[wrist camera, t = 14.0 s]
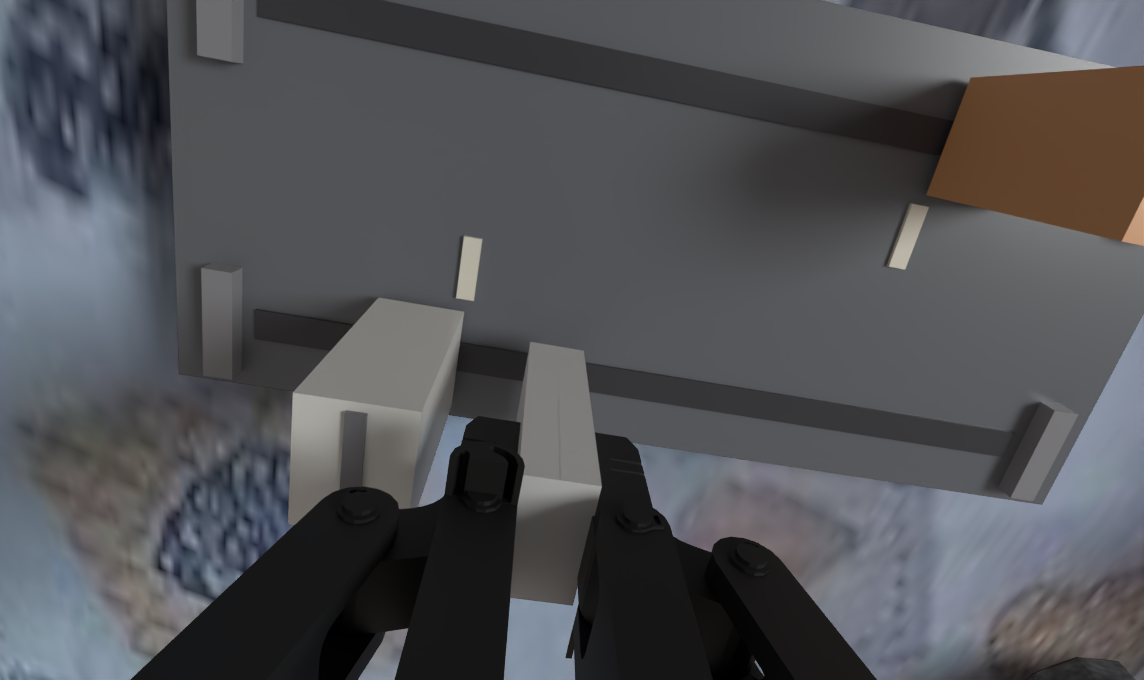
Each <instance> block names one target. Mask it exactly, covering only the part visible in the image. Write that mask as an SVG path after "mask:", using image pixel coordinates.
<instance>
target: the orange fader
mask: <svg viewBox="0 0 1144 680" xmlns="http://www.w3.org/2000/svg"><path fill="white" fill-rule="evenodd" d="M926 195H928V196H932V197H936V198H941V199H945V200H949V201H953V202H957V203H962V204H966V205H970V206H974V207H978V208H983V209H987V210H991V211H995V212H1000V213H1004V214H1008V215H1012V216H1016V217H1021V218H1025V219H1029V220H1033V221H1037V222H1042V223H1046V224H1050V225H1054V226H1059V227H1063V228H1067V229H1071V230H1075V231H1080V232H1084V233H1088V234H1092V235H1097V236H1101V237H1105V238H1109V239H1113V240H1118V241H1122V242H1127V243H1132V244H1137V245H1142V246H1144V66H1132V67H1118V68H1103V69H1089V70H1074V71H1059V72H1045V73H1030V74H1015V75H1001V76H986V77H971V78H970V80H969V83H968V86H967V88H966V91H965V94H964V96H963V99H962V102H961V104H960V107H959V110H958V112H957V115H956V118H955V120H954V123H953V125H952V128H951V131H950V133H949V136H948V139H947V141H946V144H945V147H944V149H943V152H942V155H941V157H940V160H939V162H938V165H937V168H936V170H935V173H934V176H933V178H932V181H931V184H930V186H929V189H928V192H927V194H926Z"/></svg>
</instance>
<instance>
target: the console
mask: <svg viewBox="0 0 1144 680" xmlns="http://www.w3.org/2000/svg"><path fill="white" fill-rule="evenodd" d="M167 28H168V58H169V88H170V118H171V149H172V179H173V209H174V239H175V269H176V300H177V330H178V360H179V374H181V375H188V376H195V377H201V378H208V379H214V380H221V381H228V382H234V383H241V384H248V385H254V386H261V387H267V388H274V389H281V390H287V391H295V390H296V389H297V388H298V386H299V385H300V384H301V383H302V382H303V381H304V380H305V379H306V378H307V376H308V375H309V374H310V373H311V372H312V371H313V370H314V369H315V368H316V366H317V365H318V364H319V363H320V362H321V361H322V360H323V359H324V358H325V356H326V355H327V354H328V353H329V352H330V351H331V350H332V349H333V348H334V347H335V345H336V344H337V343H338V342H339V341H340V340H341V339H342V338H343V337H344V335H345V334H346V333H347V332H348V331H349V330H350V329H351V328H352V327H353V325H354V324H355V323H356V322H357V321H358V320H359V319H360V318H361V317H362V315H363V314H364V313H365V312H366V311H367V310H368V309H369V308H370V307H371V306H372V304H373V303H374V302H375V301H376V300H377V299H378V298H385V299H391V300H397V301H403V302H409V303H415V304H421V305H427V306H433V307H439V308H445V309H451V310H457V311H463V312H464V317H463V324H462V332H461V339H460V347H459V354H458V362H457V369H456V376H455V384H454V391H453V399H452V406H451V409H450V412H449V415H452V416H459V417H466V418H472V419H475V418H476V417H477V416H482V417H489V418H495V419H501V420H508V421H514V422H516V419H517V413H518V407H519V402H520V396H521V391H522V385H523V380H524V374H525V369H526V363H527V357H528V352H529V346H530V342H535V343H541V344H547V345H553V346H559V347H565V348H571V349H577V350H583V351H584V356H585V364H586V371H587V379H588V386H589V394H590V401H591V409H592V416H593V424H594V431H595V432H596V433H602V434H609V435H615V436H621V437H627V438H628V439H629V440H630V441H631V443H638V444H644V445H651V446H657V447H664V448H671V449H677V450H684V451H691V452H697V453H704V454H710V455H717V456H724V457H730V458H737V459H743V460H750V461H757V462H763V463H770V464H777V465H783V466H790V467H796V468H803V469H810V470H816V471H823V472H829V473H836V474H843V475H849V476H856V477H862V478H869V479H876V480H882V481H889V482H896V483H902V484H909V485H915V486H922V487H929V488H935V489H942V490H948V491H955V492H962V493H968V494H975V495H981V496H988V497H995V498H1001V499H1008V500H1015V501H1021V502H1028V503H1034V504H1041V505H1042V504H1043V502H1044V500H1045V498H1046V496H1047V494H1048V493H1049V491H1050V489H1051V487H1052V485H1053V483H1054V481H1055V479H1056V478H1057V476H1058V474H1059V472H1060V470H1061V468H1062V466H1063V464H1064V462H1065V461H1066V459H1067V457H1068V455H1069V453H1070V451H1071V449H1072V447H1073V446H1074V444H1075V442H1076V440H1077V438H1078V436H1079V434H1080V432H1081V431H1082V429H1083V427H1084V425H1085V423H1086V421H1087V419H1088V417H1089V415H1090V414H1091V412H1092V410H1093V408H1094V406H1095V404H1096V402H1097V400H1098V399H1099V397H1100V395H1101V393H1102V391H1103V389H1104V387H1105V385H1106V383H1107V382H1108V380H1109V378H1110V376H1111V374H1112V372H1113V370H1114V368H1115V367H1116V365H1117V363H1118V361H1119V359H1120V357H1121V355H1122V353H1123V351H1124V350H1125V348H1126V346H1127V344H1128V342H1129V340H1130V338H1131V336H1132V335H1133V333H1134V331H1135V329H1136V327H1137V325H1138V323H1139V321H1140V319H1141V318H1142V316H1143V314H1144V246H1142V245H1137V244H1132V243H1127V242H1122V241H1118V240H1113V239H1109V238H1105V237H1101V236H1097V235H1092V234H1088V233H1084V232H1080V231H1075V230H1071V229H1067V228H1063V227H1059V226H1054V225H1050V224H1046V223H1042V222H1037V221H1033V220H1029V219H1025V218H1021V217H1016V216H1012V215H1008V214H1004V213H1000V212H995V211H991V210H987V209H983V208H978V207H974V206H970V205H966V204H962V203H957V202H953V201H949V200H945V199H941V198H936V197H932V196H928V195H926V194H927V192H928V189H929V186H930V184H931V181H932V178H933V176H934V173H935V170H936V168H937V165H938V162H939V160H940V157H941V155H942V152H943V149H944V147H945V144H946V141H947V139H948V136H949V133H950V131H951V128H952V125H953V123H954V120H955V118H956V115H957V112H958V110H959V107H960V104H961V102H962V99H963V96H964V94H965V91H966V88H967V86H968V83H969V80H970V78H971V77H986V76H1001V75H1015V74H1030V73H1045V72H1059V71H1074V70H1089V69H1103V68H1117V67H1113V66H1109V65H1104V64H1100V63H1095V62H1091V61H1086V60H1082V59H1078V58H1073V57H1069V56H1064V55H1060V54H1055V53H1051V52H1047V51H1042V50H1038V49H1033V48H1029V47H1025V46H1020V45H1016V44H1011V43H1007V42H1002V41H998V40H994V39H989V38H985V37H980V36H976V35H971V34H967V33H963V32H958V31H954V30H949V29H945V28H940V27H936V26H932V25H927V24H923V23H918V22H914V21H910V20H905V19H901V18H896V17H892V16H887V15H883V14H879V13H874V12H870V11H865V10H861V9H856V8H852V7H848V6H843V5H839V4H834V3H830V2H826V1H821V0H167Z"/></svg>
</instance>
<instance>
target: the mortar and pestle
mask: <svg viewBox="0 0 1144 680" xmlns="http://www.w3.org/2000/svg"><path fill="white" fill-rule="evenodd" d="M1027 680H1135V679H1134V678H1133V677H1132V676H1131V675H1130V673H1129V672H1128V671H1127V670H1126V669H1125V668H1124V667H1123V666H1122V665H1121V664H1120V663H1119V662H1118V661H1108V660H1098V659H1088V658H1078V657H1077V658H1075V659H1072V660H1069V661H1066V662H1064V663H1061V664H1058V665H1056V666H1053V667H1050V668H1047V669H1045V670H1042V671H1039V672H1037V673H1034V674H1032V675H1031V676H1030V677H1029V678H1028V679H1027Z"/></svg>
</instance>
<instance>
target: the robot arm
mask: <svg viewBox="0 0 1144 680" xmlns="http://www.w3.org/2000/svg"><path fill="white" fill-rule="evenodd" d="M577 586H578V599H579V604H578V609H577V613H576V617H575V621H574V625H573V629H572V633H571V637H570V641H569V645H568V649H567V654H566V658H572V655H573V651H574V658H575V680H877V679H876V678H875V677H874V676H873V674H872V673H871V672H870V671H869V669H868V668H867V667H866V666H865V664H864V663H863V662H862V661H861V659H860V658H859V657H858V656H857V654H856V653H855V652H854V651H853V649H852V648H851V647H850V646H849V644H848V643H847V642H846V641H845V639H844V638H843V637H842V636H841V634H840V633H839V632H838V631H837V630H836V628H835V627H834V626H833V625H832V623H831V622H830V621H829V620H828V618H827V617H826V616H825V615H824V613H823V612H822V611H821V610H820V608H819V607H818V606H817V605H816V603H815V602H814V601H813V600H812V598H811V597H810V596H809V595H808V593H807V592H806V591H805V590H804V588H803V587H802V586H801V585H800V583H799V582H798V581H797V580H796V579H795V577H794V576H793V575H792V574H791V572H790V571H789V570H788V569H787V567H786V566H785V565H784V564H783V562H782V561H781V560H780V559H779V558H778V557H777V556H776V555H775V554H774V553H773V552H772V551H770V550H769V549H767V548H765V547H764V546H762V545H760V544H759V543H756V542H754V541H750V540H748V539H745V538H737V537H728V538H722V539H720V540H719V541H717V542H716V543H715V544H714V546H713V549H712V552H708V551H705V550H703V549H700V548H697V547H694V546H692V545H689V544H687V543H685V542H682V541H680V540H678V539H677V538H675V537H673V535H672V531H671V528H670V525H669V523H668V522H667V520H666V518H665V517H664V516H663V515H662V514H660V513H659V512H658V511H657V510H656V509H654V508H653V507H652V503H651V499H650V495H649V491H648V487H647V483H646V479H645V476H644V471H643V467H642V465H641V459H640V455H639V451H638V449H637V448H636V447H635V446H634V445H633V444H632V443H631V441H630V440H629V439H628V438H627V437H621V436H615V435H609V434H602V433H596V432H595V431H594V424H593V416H592V409H591V401H590V394H589V386H588V379H587V371H586V364H585V356H584V351H583V350H577V349H571V348H565V347H559V346H553V345H547V344H541V343H535V342H530V346H529V352H528V357H527V363H526V369H525V374H524V380H523V385H522V391H521V396H520V402H519V407H518V413H517V419H516V422H514V421H508V420H501V419H495V418H489V417H482V416H477V417H476V418H475V419H474V420H472V421H471V422H470V423H469V424H467V425H466V428H465V432H464V436H463V440H462V443H461V446H459V447H457V448H455V449H454V451H453V452H452V453H451V455H450V460H449V467H448V474H447V481H446V488H445V495H444V496H443V497H442V498H441V499H440V500H438V501H436V502H434V503H432V504H429V505H426V506H423V507H416V508H407V509H399V506H398V502H397V501H396V500H395V499H394V498H393V497H392V496H391V495H390V494H388V493H386V492H384V491H382V490H380V489H376V488H370V487H364V486H362V487H348V488H344V489H341V490H337V491H334V492H332V493H331V494H329V495H328V496H326V497H325V498H323V499H322V500H321V501H320V502H319V503H318V504H316V505H315V506H314V507H313V508H312V509H311V510H310V511H309V512H308V513H307V514H306V515H305V516H304V517H303V518H302V519H301V520H299V521H298V522H297V523H296V524H295V525H294V526H293V527H292V528H291V529H290V530H289V531H288V532H287V533H286V534H285V535H284V536H283V537H281V538H280V539H279V540H278V541H277V542H276V543H275V544H274V545H273V546H272V547H271V548H270V549H269V550H268V551H267V552H266V553H264V554H263V555H262V556H261V557H260V558H259V559H258V560H257V561H256V562H255V563H254V564H253V565H252V566H251V567H250V568H249V569H247V570H246V571H245V572H244V573H243V574H242V575H241V576H240V577H239V578H238V579H237V580H236V581H235V582H234V583H233V584H232V585H230V586H229V587H228V588H227V589H226V590H225V591H224V592H223V593H222V594H221V595H220V596H219V597H218V598H217V599H216V600H215V601H213V602H212V603H211V604H210V605H209V606H208V607H207V608H206V609H205V610H204V611H203V612H202V613H201V614H200V615H199V616H198V617H196V618H195V619H194V620H193V621H192V622H191V623H190V624H189V625H188V626H187V627H186V628H185V629H184V630H183V631H182V632H181V633H179V634H178V635H177V636H176V637H175V638H174V639H173V640H172V641H171V642H170V643H169V644H168V645H167V646H166V647H165V648H164V649H163V650H161V651H160V652H159V653H158V654H157V655H156V656H155V657H154V658H153V659H152V660H151V661H150V662H149V663H148V664H147V665H146V666H144V667H143V668H142V669H141V670H140V671H139V672H138V673H137V674H136V675H135V676H134V677H133V678H132V679H131V680H358V678H359V677H360V675H361V674H362V672H363V671H364V669H365V667H366V666H367V664H368V663H369V661H370V660H371V658H372V657H373V655H374V653H375V652H376V650H377V649H378V647H379V646H380V644H381V643H382V640H383V638H384V635H385V632H386V631H393V630H399V629H406V628H408V632H407V636H406V640H405V643H404V647H403V651H402V654H401V658H400V662H399V666H398V669H397V673H396V677H395V680H504V668H505V656H506V643H507V631H508V618H509V606H510V598H518V599H526V600H533V601H541V602H549V603H557V604H565V605H573V603H574V599H575V595H576V590H577ZM755 660H756V661H757V663H758V664H759V666H760V667H761V669H762V671H763V673H764V675H765V676H764V675H763V674H762V673H761V672H760V670H759V669H758V667H757V665H756V664H755Z"/></svg>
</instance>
